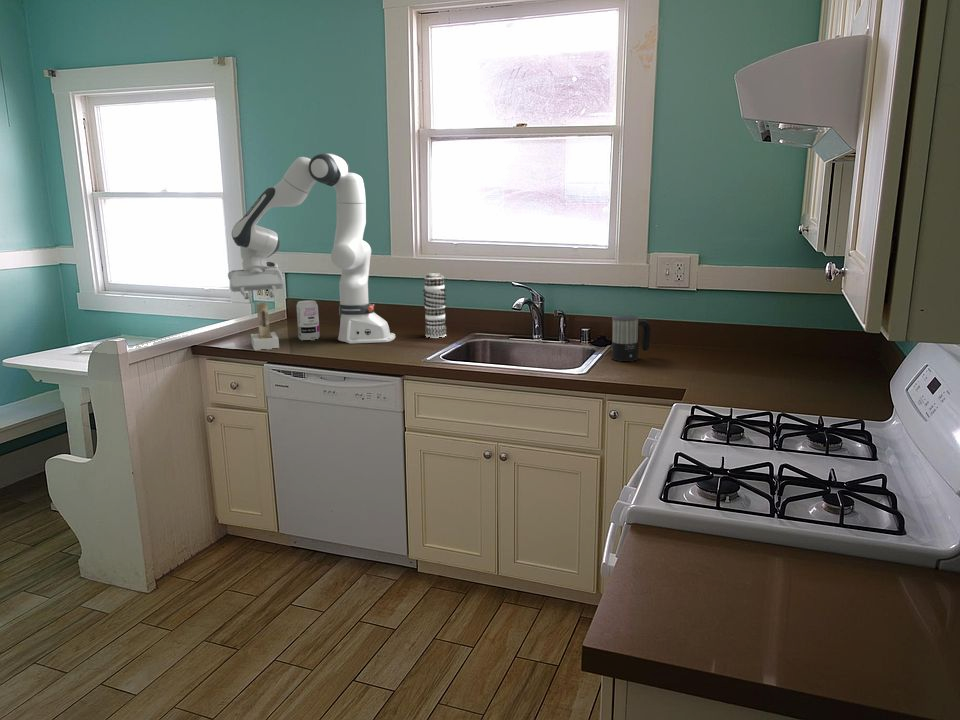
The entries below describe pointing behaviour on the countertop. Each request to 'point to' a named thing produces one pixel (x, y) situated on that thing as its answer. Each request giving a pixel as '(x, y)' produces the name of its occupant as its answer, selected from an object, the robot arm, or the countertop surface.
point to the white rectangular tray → (265, 342)
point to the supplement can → (308, 320)
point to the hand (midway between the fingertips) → (259, 297)
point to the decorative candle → (434, 305)
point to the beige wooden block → (263, 320)
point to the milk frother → (628, 337)
